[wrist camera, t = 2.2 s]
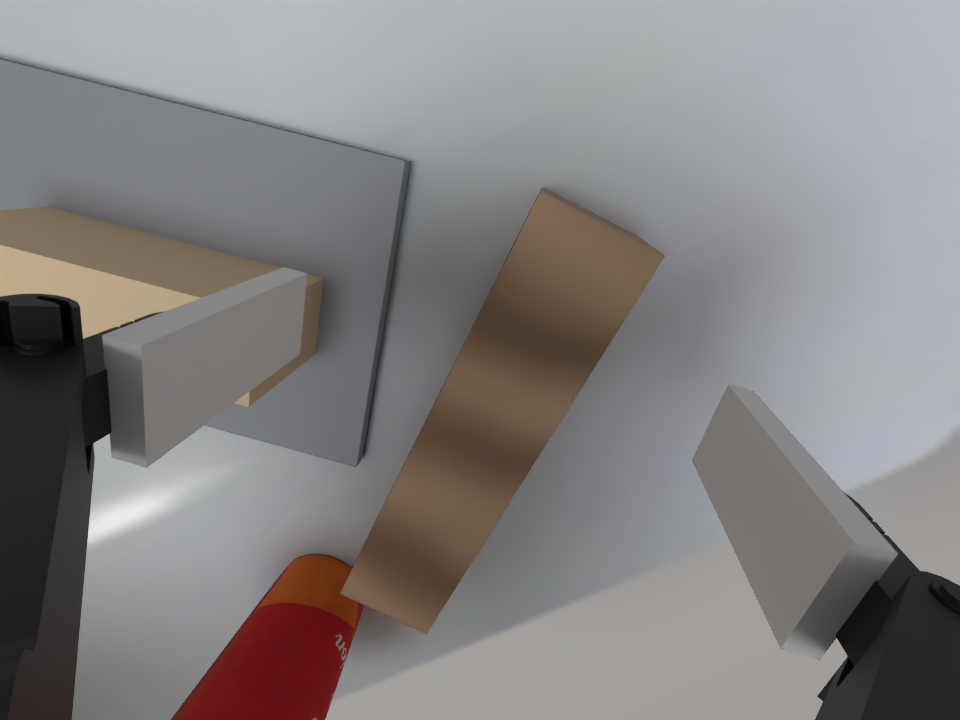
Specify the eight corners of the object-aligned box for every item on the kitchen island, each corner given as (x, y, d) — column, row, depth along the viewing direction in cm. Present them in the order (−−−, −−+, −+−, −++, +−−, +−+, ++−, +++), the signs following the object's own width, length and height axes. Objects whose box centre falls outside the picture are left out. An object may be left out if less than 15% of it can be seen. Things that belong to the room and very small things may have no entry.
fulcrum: (362, 457, 28) (307, 543, 22) (33, 367, 29) (-117, 424, 22) (411, 161, 22) (354, 157, 16) (-7, 56, 23) (-228, 11, 16)
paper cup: (325, 647, 34) (189, 939, 21) (245, 573, 33) (45, 839, 20) (407, 602, 32) (310, 901, 19) (325, 519, 30) (156, 784, 17)
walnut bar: (444, 563, 31) (426, 633, 26) (371, 529, 30) (339, 593, 26) (640, 238, 22) (664, 256, 18) (542, 187, 22) (540, 191, 17)
